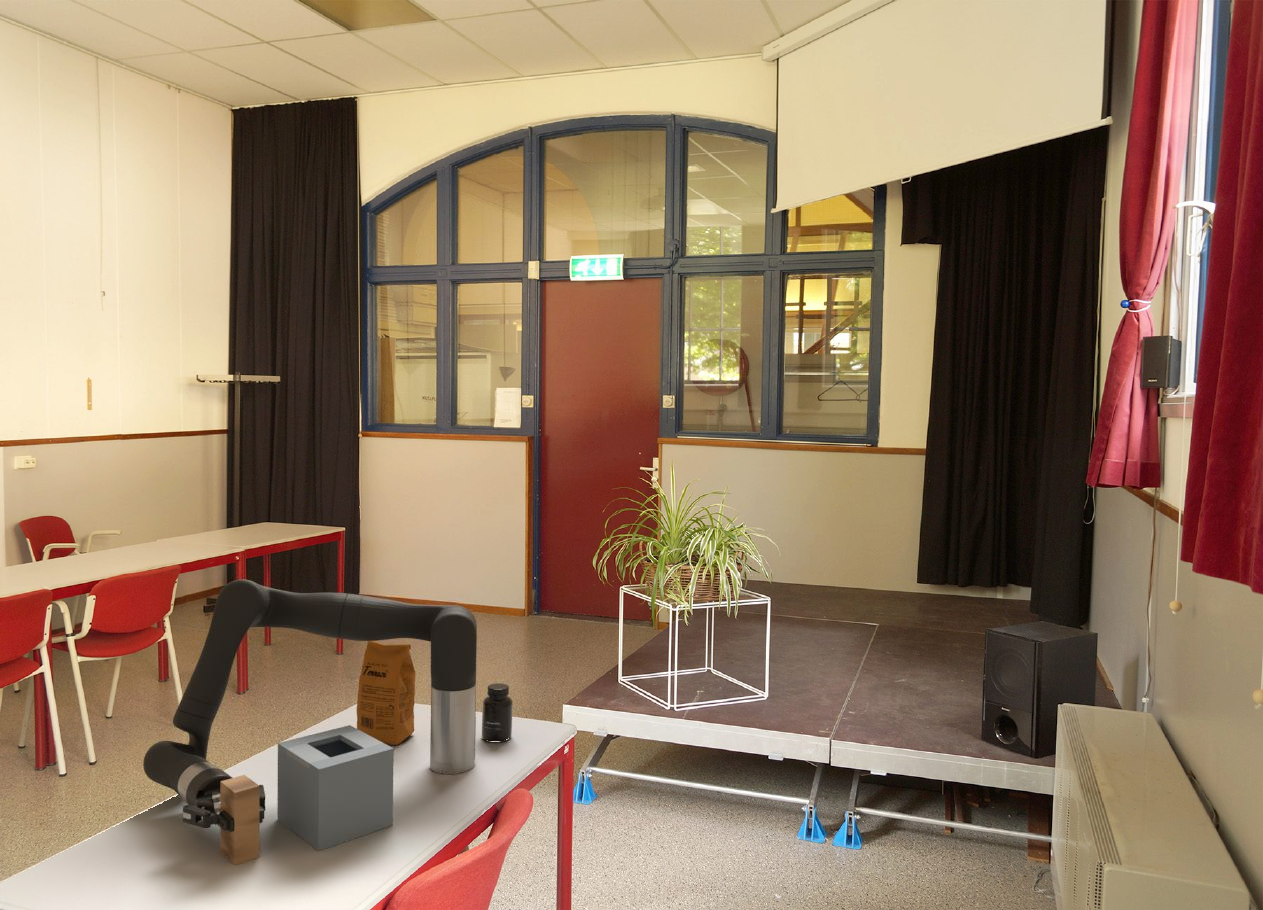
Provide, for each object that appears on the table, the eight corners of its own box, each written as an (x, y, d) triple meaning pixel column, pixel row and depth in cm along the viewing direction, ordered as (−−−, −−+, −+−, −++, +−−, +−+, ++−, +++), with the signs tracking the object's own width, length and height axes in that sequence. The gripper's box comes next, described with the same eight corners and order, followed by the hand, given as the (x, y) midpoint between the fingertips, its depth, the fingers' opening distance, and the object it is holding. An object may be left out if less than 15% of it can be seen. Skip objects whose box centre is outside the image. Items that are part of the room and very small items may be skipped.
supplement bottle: (487, 745, 200) (488, 692, 199) (477, 735, 206) (478, 683, 205) (516, 740, 203) (517, 688, 202) (506, 730, 209) (507, 680, 208)
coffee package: (375, 726, 210) (376, 633, 209) (420, 733, 206) (422, 639, 205) (348, 740, 200) (349, 643, 200) (395, 748, 196) (396, 649, 195)
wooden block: (220, 851, 149) (220, 781, 149) (244, 843, 152) (244, 774, 152) (234, 865, 145) (234, 792, 144) (259, 856, 148) (259, 785, 147)
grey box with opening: (277, 819, 161) (277, 743, 161) (349, 796, 171) (349, 725, 171) (318, 850, 150) (319, 769, 150) (392, 825, 160) (393, 748, 160)
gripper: (164, 779, 153) (201, 812, 141) (247, 757, 163) (289, 786, 151) (164, 822, 153) (201, 858, 141) (247, 798, 164) (289, 830, 151)
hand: (246, 821), depth 146 cm, fingers closed on wooden block, 4 cm apart
